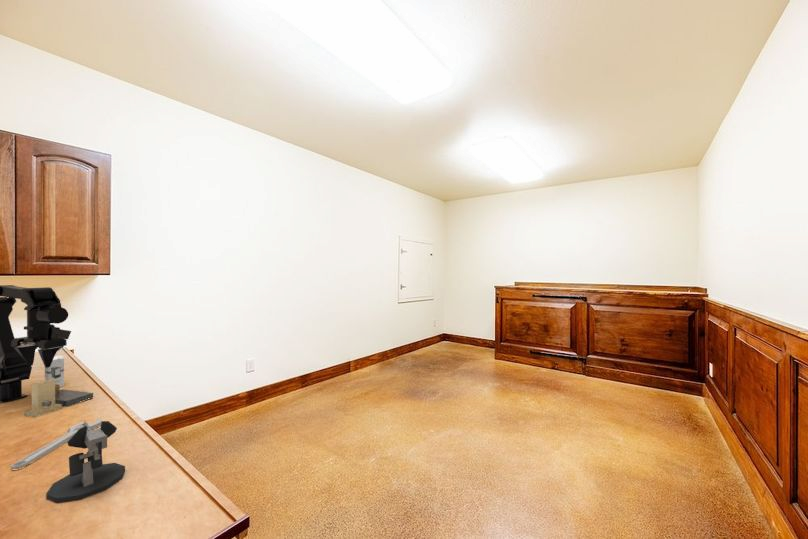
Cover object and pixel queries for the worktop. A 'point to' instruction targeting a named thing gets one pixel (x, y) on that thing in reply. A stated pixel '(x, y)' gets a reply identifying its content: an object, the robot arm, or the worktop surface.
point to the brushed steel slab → (70, 396)
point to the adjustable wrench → (53, 445)
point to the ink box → (56, 370)
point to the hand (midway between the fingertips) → (39, 366)
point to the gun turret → (87, 466)
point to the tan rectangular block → (43, 399)
